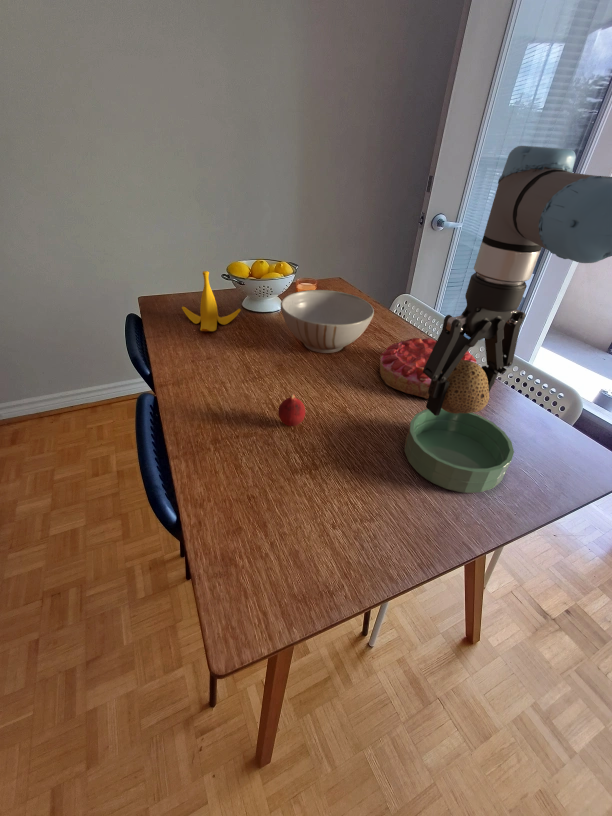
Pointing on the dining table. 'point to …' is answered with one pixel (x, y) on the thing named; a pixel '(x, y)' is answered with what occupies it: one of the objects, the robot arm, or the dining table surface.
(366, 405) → the dining table surface
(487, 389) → the natural sponge
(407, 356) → the cake
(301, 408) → the onion
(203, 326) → the banana peel
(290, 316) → the decorative bowl
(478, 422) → the green bowl
